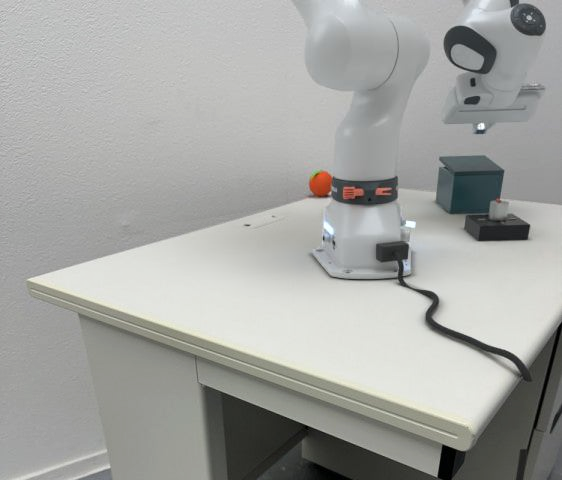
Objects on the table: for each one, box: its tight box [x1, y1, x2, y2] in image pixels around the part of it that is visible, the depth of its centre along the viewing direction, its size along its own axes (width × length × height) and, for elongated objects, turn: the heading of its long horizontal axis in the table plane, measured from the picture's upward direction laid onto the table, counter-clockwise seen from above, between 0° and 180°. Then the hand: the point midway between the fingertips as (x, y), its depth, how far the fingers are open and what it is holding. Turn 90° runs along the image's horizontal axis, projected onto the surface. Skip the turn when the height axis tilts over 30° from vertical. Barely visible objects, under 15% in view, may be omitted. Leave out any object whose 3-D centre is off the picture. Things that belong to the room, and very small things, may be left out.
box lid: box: [438, 154, 505, 175], centre depth 134 cm, size 16×12×1 cm
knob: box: [488, 198, 510, 221], centre depth 112 cm, size 4×4×4 cm
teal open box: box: [435, 166, 505, 215], centre depth 136 cm, size 15×12×9 cm
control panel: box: [463, 213, 531, 242], centre depth 114 cm, size 10×10×3 cm
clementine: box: [308, 169, 333, 197], centre depth 154 cm, size 8×7×7 cm
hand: (478, 131), depth 129 cm, fingers closed
